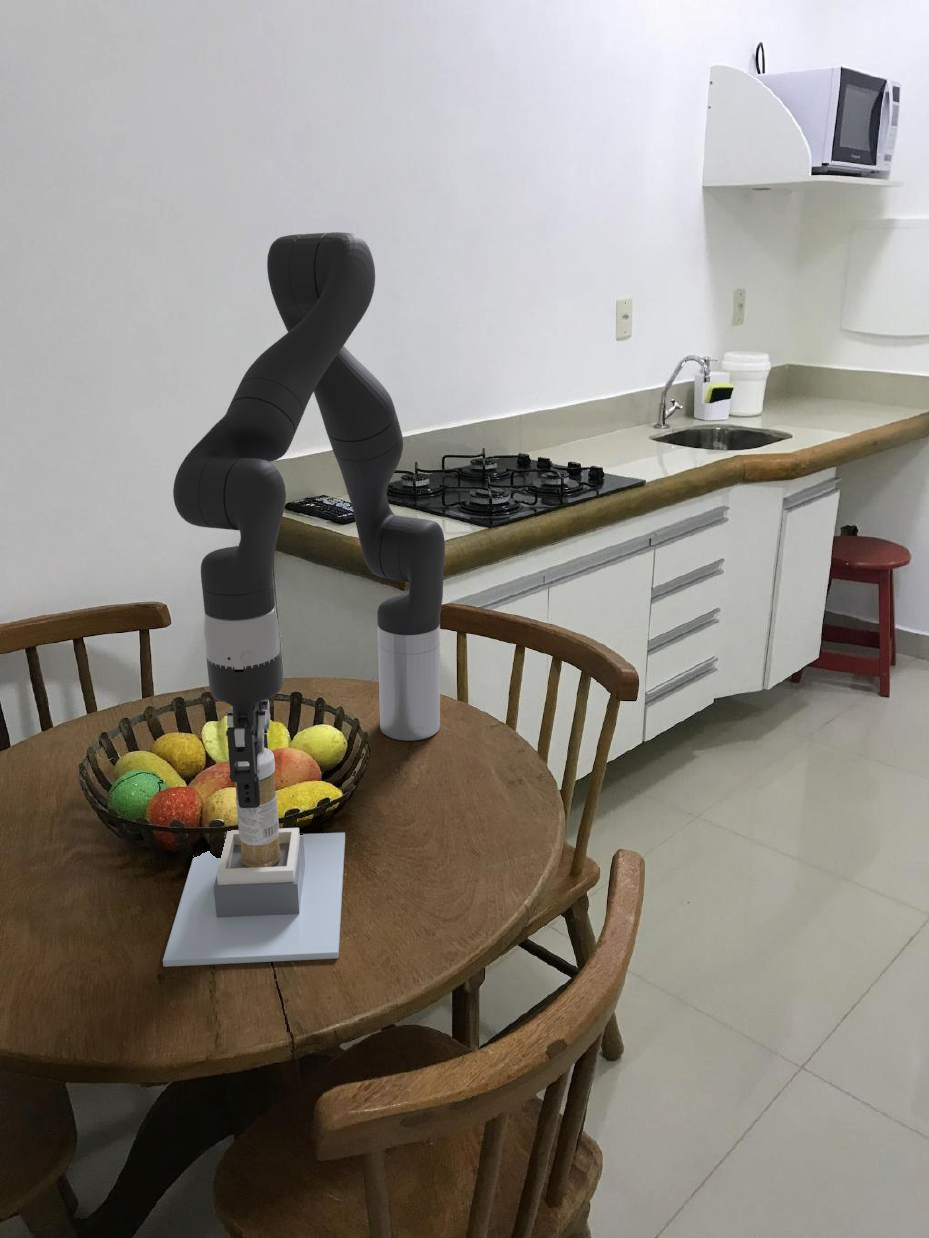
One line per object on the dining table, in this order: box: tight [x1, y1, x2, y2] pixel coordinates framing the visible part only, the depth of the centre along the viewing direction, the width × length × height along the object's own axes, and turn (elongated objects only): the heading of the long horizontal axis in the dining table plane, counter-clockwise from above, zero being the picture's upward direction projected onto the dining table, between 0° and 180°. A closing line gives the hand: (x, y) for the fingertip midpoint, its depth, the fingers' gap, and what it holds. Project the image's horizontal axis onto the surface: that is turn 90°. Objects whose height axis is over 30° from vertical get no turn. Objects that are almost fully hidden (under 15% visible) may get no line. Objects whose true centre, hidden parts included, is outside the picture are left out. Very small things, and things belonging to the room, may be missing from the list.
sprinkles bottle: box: [234, 748, 281, 868], centre depth 108 cm, size 5×5×14 cm
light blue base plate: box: [162, 827, 346, 968], centre depth 111 cm, size 22×18×6 cm
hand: (254, 784), depth 107 cm, fingers open, 8 cm apart
